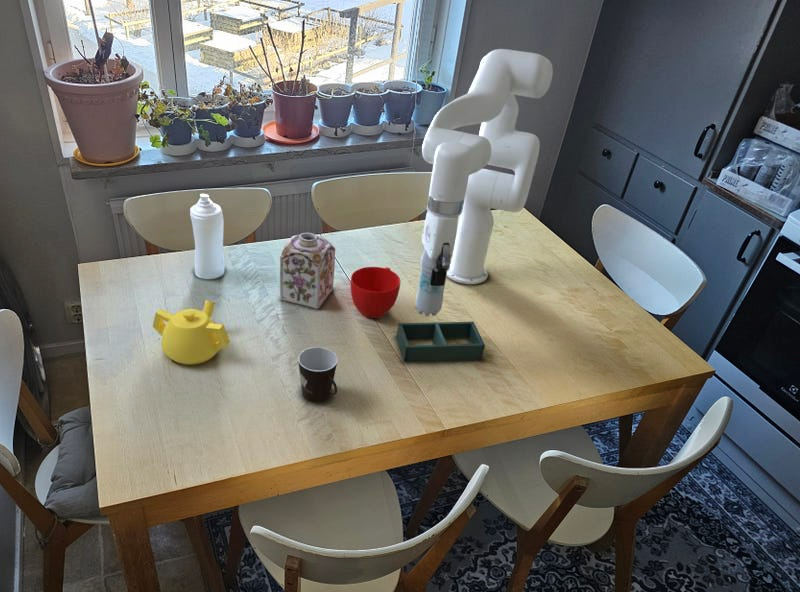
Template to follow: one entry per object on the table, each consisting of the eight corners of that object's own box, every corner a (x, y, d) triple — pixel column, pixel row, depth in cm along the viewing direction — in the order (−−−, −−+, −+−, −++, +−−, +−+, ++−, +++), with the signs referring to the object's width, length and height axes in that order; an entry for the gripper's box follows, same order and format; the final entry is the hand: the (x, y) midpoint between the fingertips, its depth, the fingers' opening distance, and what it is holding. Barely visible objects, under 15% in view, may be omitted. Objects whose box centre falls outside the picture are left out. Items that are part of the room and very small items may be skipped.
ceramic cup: (407, 298, 177) (412, 267, 170) (386, 330, 164) (390, 297, 158) (364, 287, 181) (367, 256, 174) (340, 316, 168) (343, 284, 162)
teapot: (249, 333, 161) (247, 297, 154) (216, 376, 147) (213, 338, 140) (178, 316, 166) (174, 280, 159) (140, 356, 152) (134, 319, 145)
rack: (396, 337, 162) (398, 323, 159) (470, 335, 164) (473, 321, 161) (404, 362, 154) (406, 347, 151) (481, 359, 156) (485, 345, 153)
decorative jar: (278, 300, 174) (278, 241, 162) (295, 280, 182) (296, 222, 171) (319, 310, 170) (321, 250, 159) (334, 289, 179) (338, 231, 168)
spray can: (238, 272, 184) (234, 191, 169) (214, 288, 177) (207, 204, 162) (207, 260, 189) (200, 180, 174) (183, 275, 182) (173, 193, 166)
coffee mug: (296, 381, 147) (297, 347, 141) (333, 380, 148) (335, 346, 141) (299, 416, 138) (300, 381, 131) (338, 415, 138) (341, 380, 132)
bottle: (440, 321, 148) (455, 244, 136) (412, 317, 149) (423, 240, 137) (442, 305, 154) (456, 230, 141) (414, 301, 154) (425, 226, 142)
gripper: (419, 187, 141) (409, 258, 152) (437, 222, 127) (425, 297, 138) (452, 187, 142) (440, 257, 153) (474, 221, 128) (459, 296, 139)
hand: (433, 276), depth 145 cm, fingers closed on bottle, 6 cm apart
